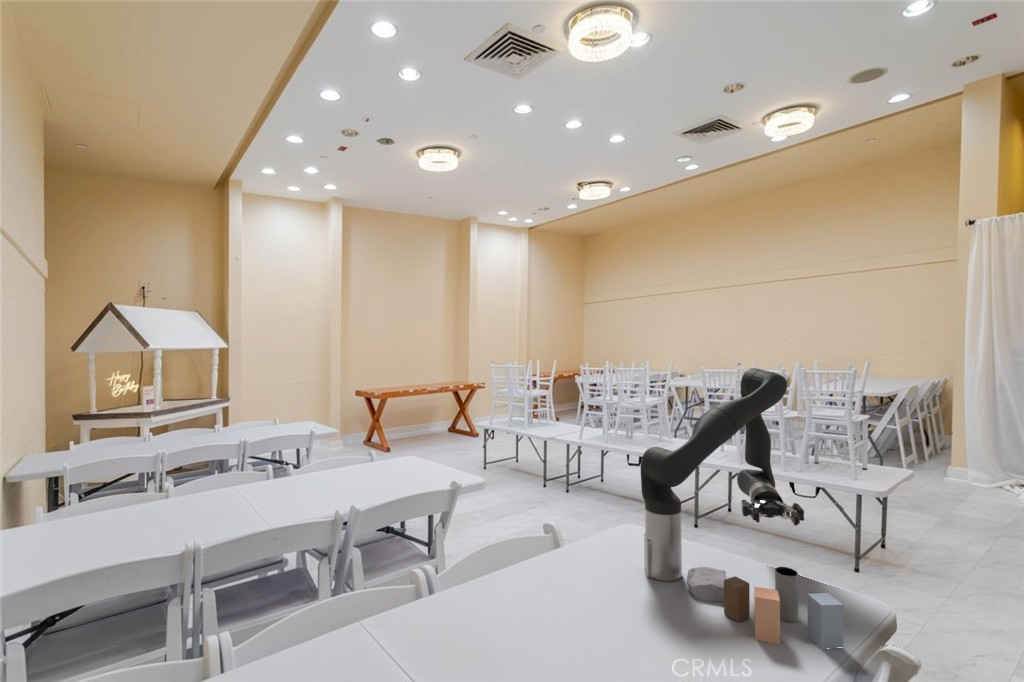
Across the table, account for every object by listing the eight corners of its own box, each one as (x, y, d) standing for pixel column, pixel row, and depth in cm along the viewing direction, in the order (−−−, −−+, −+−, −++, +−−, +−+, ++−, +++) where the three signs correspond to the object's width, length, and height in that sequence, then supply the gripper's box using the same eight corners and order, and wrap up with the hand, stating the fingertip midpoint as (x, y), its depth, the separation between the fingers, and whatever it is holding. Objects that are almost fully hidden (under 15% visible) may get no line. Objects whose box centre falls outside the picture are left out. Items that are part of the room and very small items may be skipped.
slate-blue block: (821, 649, 101) (821, 605, 101) (807, 636, 106) (807, 593, 106) (843, 648, 102) (843, 604, 101) (828, 635, 106) (828, 593, 106)
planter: (795, 613, 115) (795, 568, 114) (800, 623, 110) (800, 577, 110) (773, 609, 116) (773, 565, 116) (777, 620, 112) (776, 574, 112)
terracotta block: (755, 639, 105) (755, 596, 105) (754, 627, 109) (754, 586, 109) (780, 644, 103) (779, 600, 103) (777, 632, 107) (777, 590, 107)
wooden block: (738, 623, 111) (738, 587, 111) (723, 614, 115) (722, 579, 114) (750, 618, 113) (750, 582, 113) (735, 609, 116) (734, 575, 116)
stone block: (692, 607, 121) (736, 603, 119) (688, 587, 121) (731, 583, 119) (687, 585, 133) (726, 581, 130) (683, 566, 133) (722, 562, 131)
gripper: (737, 483, 143) (745, 503, 127) (793, 487, 138) (809, 507, 123) (737, 510, 143) (745, 532, 127) (794, 514, 138) (809, 537, 123)
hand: (776, 520), depth 125 cm, fingers open, 8 cm apart
